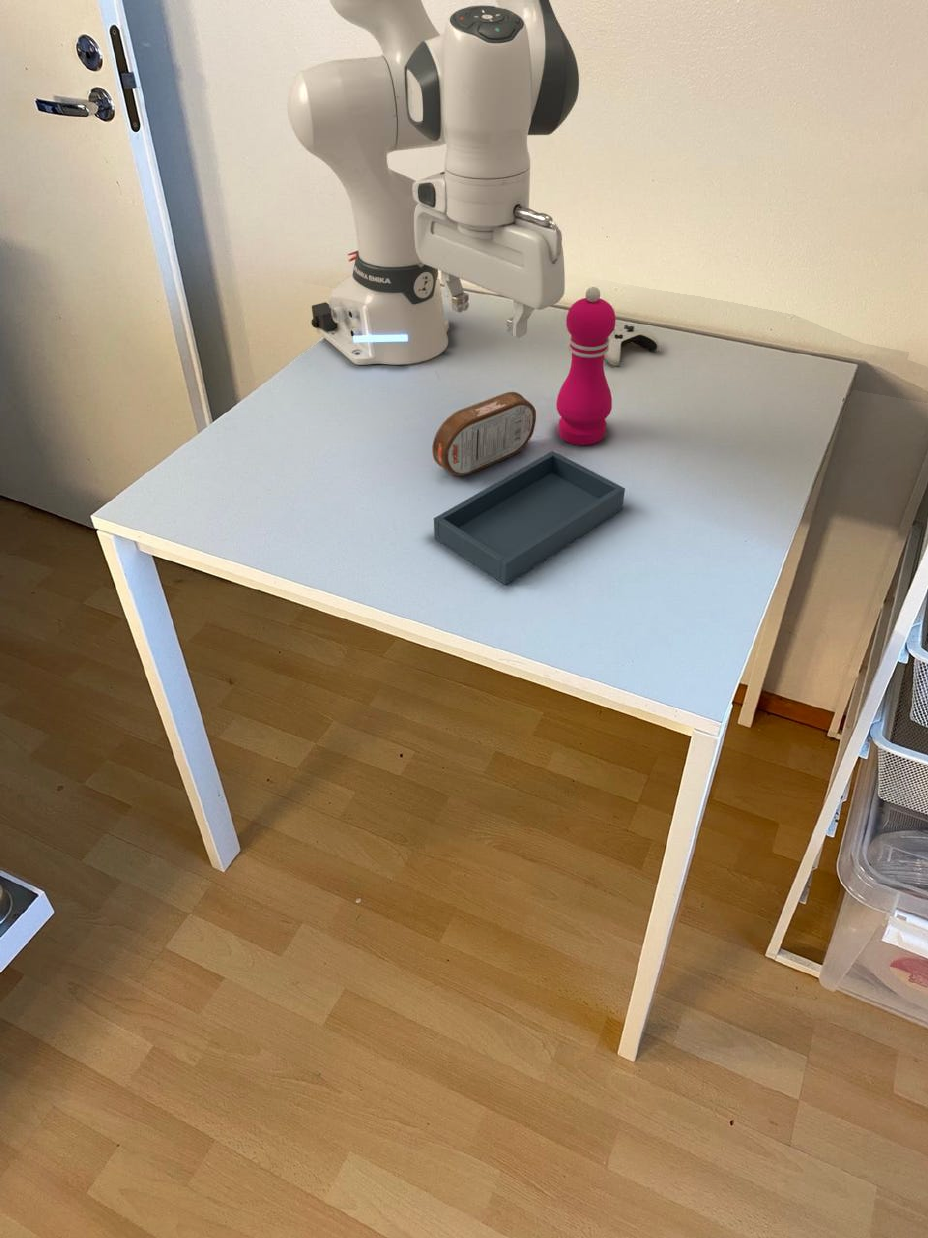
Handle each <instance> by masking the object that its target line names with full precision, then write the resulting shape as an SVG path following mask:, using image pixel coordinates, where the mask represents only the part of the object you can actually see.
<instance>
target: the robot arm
mask: <svg viewBox="0 0 928 1238" xmlns="http://www.w3.org/2000/svg"><path fill="white" fill-rule="evenodd" d="M495 1H496V4H497V6H495V5H484V4H483V5H471V6H466V7H463V8H460V9H458V10H456V11H455V12H453V13H452V14H451V15H450V16H449V17H448V18H447V20H446V23H445V27H444V32H443V33H439V31H438V29H437V28H436V27H435V25H434V24H433V22H432V20H431V19H430V17H429V14H428V13H427V11H426V9H425V7H424V4H423V1H422V0H329V3H330V4H331V6H332V8H333V9H334V11H335V12H336V13H337V14H338V15H339V16H340V17H341V18H342V19H344V20H345V21H347V22H348V23H350V24H352V25H354V26H356V27H358V28H361V29H362V30H365V31H366V32H368V33H369V34H370V35H371V36H372V37H373V38H374V39H375V40H376V41H377V42H378V45H379V47H380V50H381V52H382V54H381V55H379V56H367V57H357V58H345V59H333V60H329V61H326V62H323V63H320V64H316V65H313V66H311V67H307V68H304V69H303V70H300V71H298V72H297V73H296V75H295V76H294V79H293V80H292V83H291V85H290V88H289V92H288V97H287V115H288V120H289V124H290V126H291V129H292V132H293V134H294V135H295V137H296V138H297V140H298V142H299V143H300V144H301V145H302V147H303V148H304V149H305V150H306V151H308V152H309V153H310V154H312V155H313V156H315V157H316V158H318V159H319V160H320V161H322V162H323V163H325V165H327V166H328V167H329V169H331V170H332V171H333V173H334V174H335V175H336V176H337V178H338V179H339V180H340V182H341V183H342V186H343V187H344V189H345V191H346V193H347V196H348V198H349V201H350V205H351V209H352V214H353V215H352V216H353V220H354V226H355V227H354V228H355V234H356V242H357V250H355V251H353V252H349V253H347V256H351V257H349V258H348V259H347V260H348V262H352V261H354V264H353V270H352V274H351V275H350V276H349V277H347V278H346V279H345V280H344V281H342V282H341V283H340V284H339V285H337V286H336V287H335V288H333V290H332V291H331V292H330V295H329V299H328V302H326V301H324V302H321V303H317V304H313V305H311V312H312V319H311V322H310V323H311V325H312V326H311V327H313V328H315V330H316V332H317V333H318V334H319V335H320V336H321V337H323V338H324V339H325V340H326V341H328V343H329V344H331V345H332V346H333V347H334V348H335V349H337V350H338V351H339V352H340V353H342V354H343V355H344V356H345V357H346V358H347V359H348V360H350V361H351V362H352V363H353V364H355V365H358V366H365V365H376V364H381V365H411V364H412V365H413V364H417V363H423V362H425V361H428V360H430V359H431V360H432V359H433V358H436V357H437V356H439V355H441V354H442V353H443V352H444V351H445V350H446V349H447V347H448V346H449V337H448V334H447V333H448V332H449V329H450V322H449V320H448V318H445V317H446V316H445V309H444V302H443V295H442V285H441V282H442V284H443V286H444V289H445V291H446V293H447V295H448V304H449V305H448V306H449V307H448V308H449V309H450V310H452V311H455V312H457V313H463V312H466V311H468V309H469V294H468V293H466V292H464V288H463V284H462V281H461V280H463V281H465V282H466V283H467V282H468V283H469V284H473V285H475V286H477V287H480V288H482V289H484V290H487V291H490V292H492V293H495V294H497V295H500V296H503V297H505V298H507V299H510V300H512V301H513V309H514V310H517V311H516V313H515V315H514V316H513V317H511V318H508V319H507V320H506V327H507V328H506V333H507V334H508V335H510V336H512V337H514V338H517V339H519V338H522V337H523V336H524V337H525V335H526V334H527V332H528V320H529V319H530V317H532V316H531V315H532V314H533V312H534V311H535V310H537V311H541V310H545V309H547V308H549V307H551V306H553V305H555V304H557V303H559V302H560V301H561V299H562V298H563V297H564V295H565V290H566V287H565V286H566V280H565V279H566V275H565V274H566V273H565V257H564V248H563V247H564V246H563V235H562V231H561V229H560V228H559V226H558V225H557V223H556V222H555V221H553V217H552V216H551V215H549V214H547V213H545V212H538V211H535V210H534V209H531V208H530V186H531V185H530V184H531V157H530V153H529V149H528V136H550V135H551V134H553V133H554V132H555V131H556V130H557V129H558V128H560V126H561V125H562V124H563V123H564V122H565V120H566V119H567V118H568V116H569V115H570V114H571V112H572V111H573V108H574V106H575V104H576V103H577V100H578V97H579V90H580V73H579V66H578V62H577V58H576V54H575V52H574V50H573V47H572V45H571V43H570V41H569V40H568V37H567V35H566V33H565V31H564V30H563V28H562V27H561V25H560V22H559V20H558V19H557V17H556V14H555V12H554V9H553V7H552V4H551V1H550V0H495ZM443 145H446V153H445V159H444V165H443V166H444V167H443V168H444V171H442V172H438V173H435V174H432V175H429V176H427V177H424V178H421V179H419V180H415V179H413V178H411V177H409V176H407V175H404V174H402V173H399V172H397V171H395V170H393V169H391V168H389V165H388V164H389V163H388V155H389V154H390V153H393V152H397V151H399V152H400V151H407V150H416V149H417V150H418V149H424V148H433V147H440V146H443ZM439 271H440V279H441V282H440V279H439V278H438V277H439Z"/></svg>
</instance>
